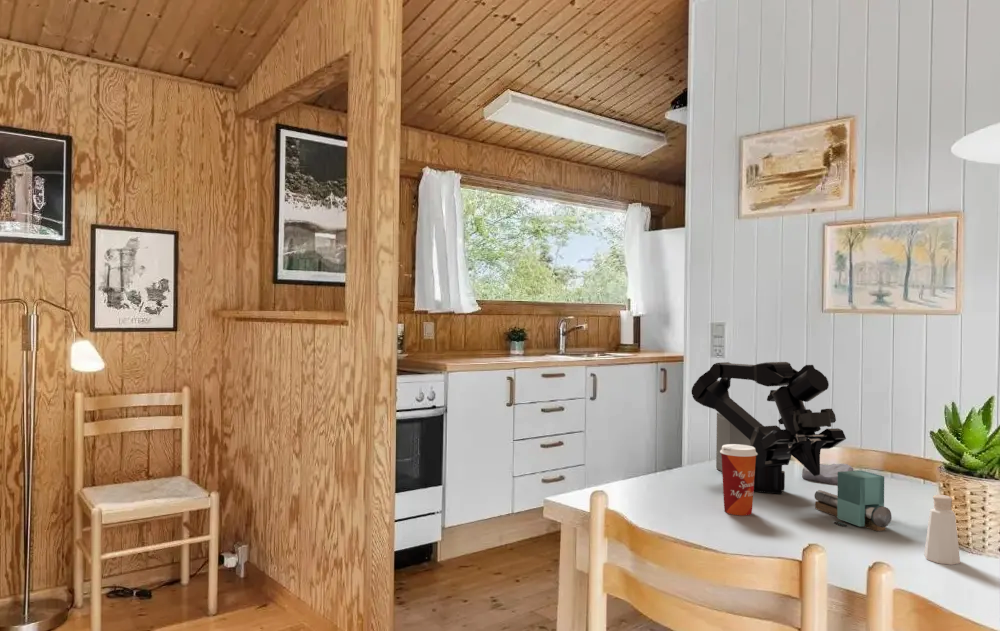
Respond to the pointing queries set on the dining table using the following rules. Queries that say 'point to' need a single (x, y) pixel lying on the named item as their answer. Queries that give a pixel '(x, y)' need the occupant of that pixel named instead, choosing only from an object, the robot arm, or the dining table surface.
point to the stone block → (827, 473)
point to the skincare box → (727, 437)
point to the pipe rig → (873, 516)
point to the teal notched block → (858, 495)
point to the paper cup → (738, 478)
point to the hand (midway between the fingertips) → (817, 475)
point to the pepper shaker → (942, 533)
